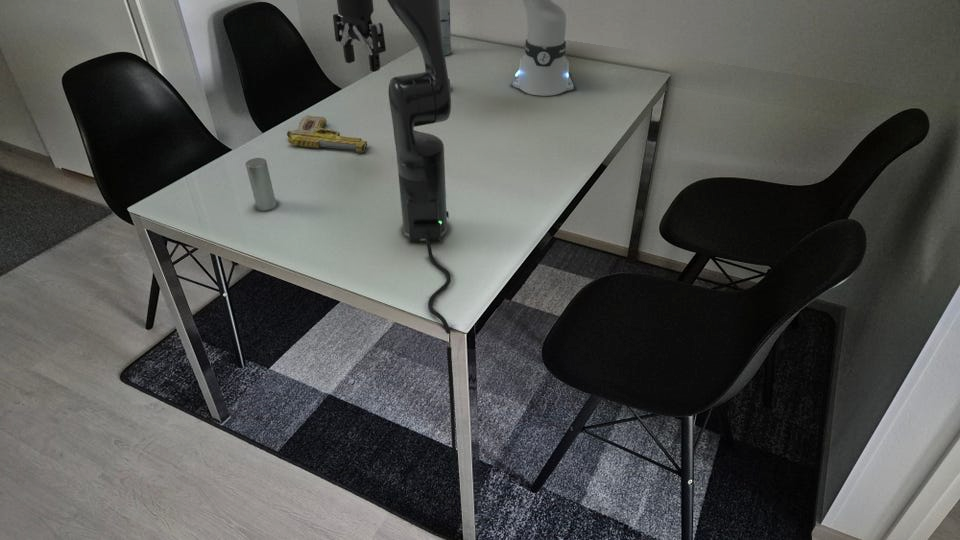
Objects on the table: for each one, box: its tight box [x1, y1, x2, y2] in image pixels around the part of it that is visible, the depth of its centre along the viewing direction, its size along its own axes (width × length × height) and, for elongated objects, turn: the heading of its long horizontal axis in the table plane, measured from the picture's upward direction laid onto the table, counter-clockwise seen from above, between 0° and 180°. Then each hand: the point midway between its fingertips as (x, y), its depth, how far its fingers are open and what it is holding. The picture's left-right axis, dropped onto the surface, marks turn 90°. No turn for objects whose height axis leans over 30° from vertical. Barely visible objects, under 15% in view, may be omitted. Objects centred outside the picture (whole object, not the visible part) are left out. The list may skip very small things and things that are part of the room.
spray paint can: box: [439, 0, 452, 57], centre depth 212 cm, size 6×6×20 cm
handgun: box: [286, 115, 368, 154], centre depth 166 cm, size 2×23×15 cm
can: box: [245, 157, 277, 212], centre depth 137 cm, size 4×4×11 cm
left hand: (362, 66), depth 142 cm, fingers open, 8 cm apart
